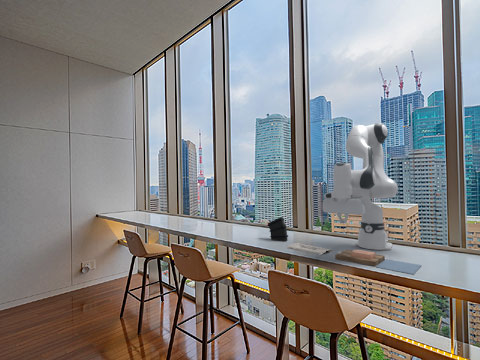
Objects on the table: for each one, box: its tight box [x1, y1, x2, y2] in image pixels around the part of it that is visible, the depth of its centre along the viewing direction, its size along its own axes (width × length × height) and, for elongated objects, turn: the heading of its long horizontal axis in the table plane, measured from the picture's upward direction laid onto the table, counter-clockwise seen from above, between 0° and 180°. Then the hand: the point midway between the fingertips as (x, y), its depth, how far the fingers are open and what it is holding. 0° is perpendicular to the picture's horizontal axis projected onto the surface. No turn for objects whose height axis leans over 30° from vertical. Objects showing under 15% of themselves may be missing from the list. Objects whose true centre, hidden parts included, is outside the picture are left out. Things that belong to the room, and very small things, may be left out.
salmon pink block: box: [351, 249, 376, 259], centre depth 127 cm, size 9×6×2 cm, turn 46°
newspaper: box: [286, 242, 333, 256], centre depth 150 cm, size 23×12×2 cm, turn 43°
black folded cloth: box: [267, 216, 289, 242], centre depth 175 cm, size 4×13×15 cm, turn 53°
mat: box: [375, 259, 422, 276], centre depth 117 cm, size 16×14×1 cm
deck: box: [334, 249, 386, 267], centre depth 129 cm, size 14×18×2 cm
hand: (343, 222), depth 133 cm, fingers closed
